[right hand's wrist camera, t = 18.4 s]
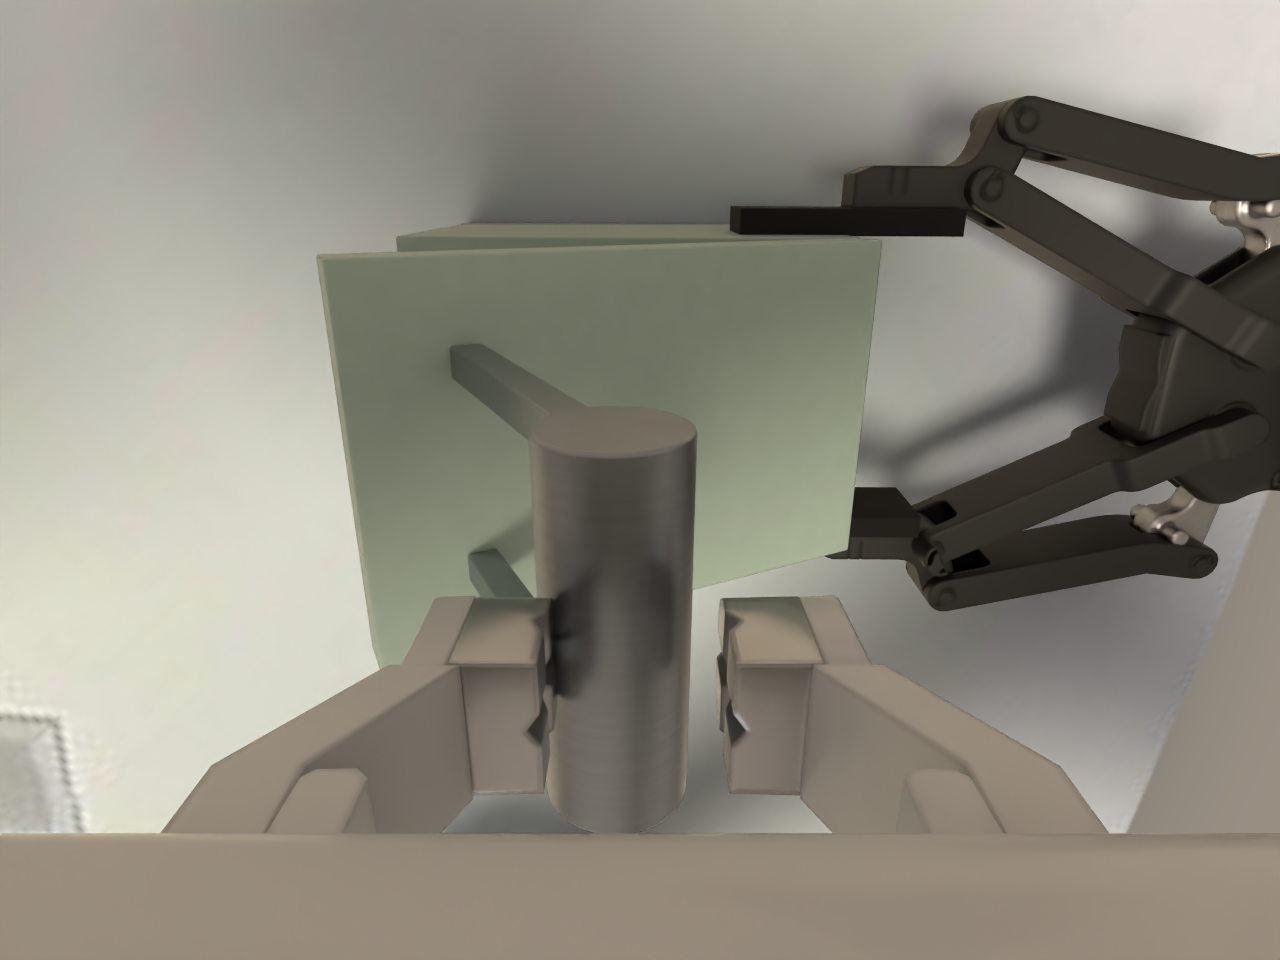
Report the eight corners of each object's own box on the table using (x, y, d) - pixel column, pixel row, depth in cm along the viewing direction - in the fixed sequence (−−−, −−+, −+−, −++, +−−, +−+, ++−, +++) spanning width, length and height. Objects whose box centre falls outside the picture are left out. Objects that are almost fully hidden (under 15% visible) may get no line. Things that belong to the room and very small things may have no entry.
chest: (483, 442, 33) (426, 535, 24) (467, 222, 29) (394, 236, 21) (779, 442, 33) (832, 535, 24) (795, 223, 30) (862, 237, 21)
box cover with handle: (372, 647, 18) (483, 989, 10) (315, 254, 15) (415, 323, 7) (824, 536, 24) (1111, 701, 16) (854, 238, 21) (1229, 266, 13)
